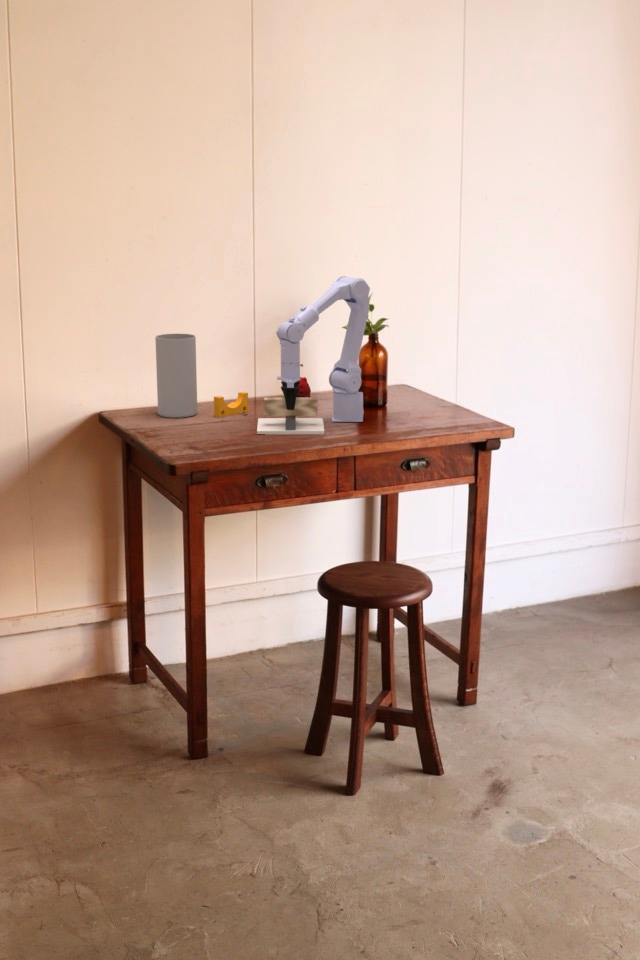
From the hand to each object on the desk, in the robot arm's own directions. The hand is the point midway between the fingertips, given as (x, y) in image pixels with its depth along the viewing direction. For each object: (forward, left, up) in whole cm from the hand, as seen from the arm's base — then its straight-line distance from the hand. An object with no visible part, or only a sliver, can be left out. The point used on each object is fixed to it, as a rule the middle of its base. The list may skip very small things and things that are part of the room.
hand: (290, 407), depth 350 cm
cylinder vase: (+36, -20, -7) cm, 42 cm away
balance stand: (0, 0, -6) cm, 6 cm away
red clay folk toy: (-3, -38, -7) cm, 39 cm away
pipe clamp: (+20, -21, -7) cm, 29 cm away
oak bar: (0, 0, -2) cm, 2 cm away
